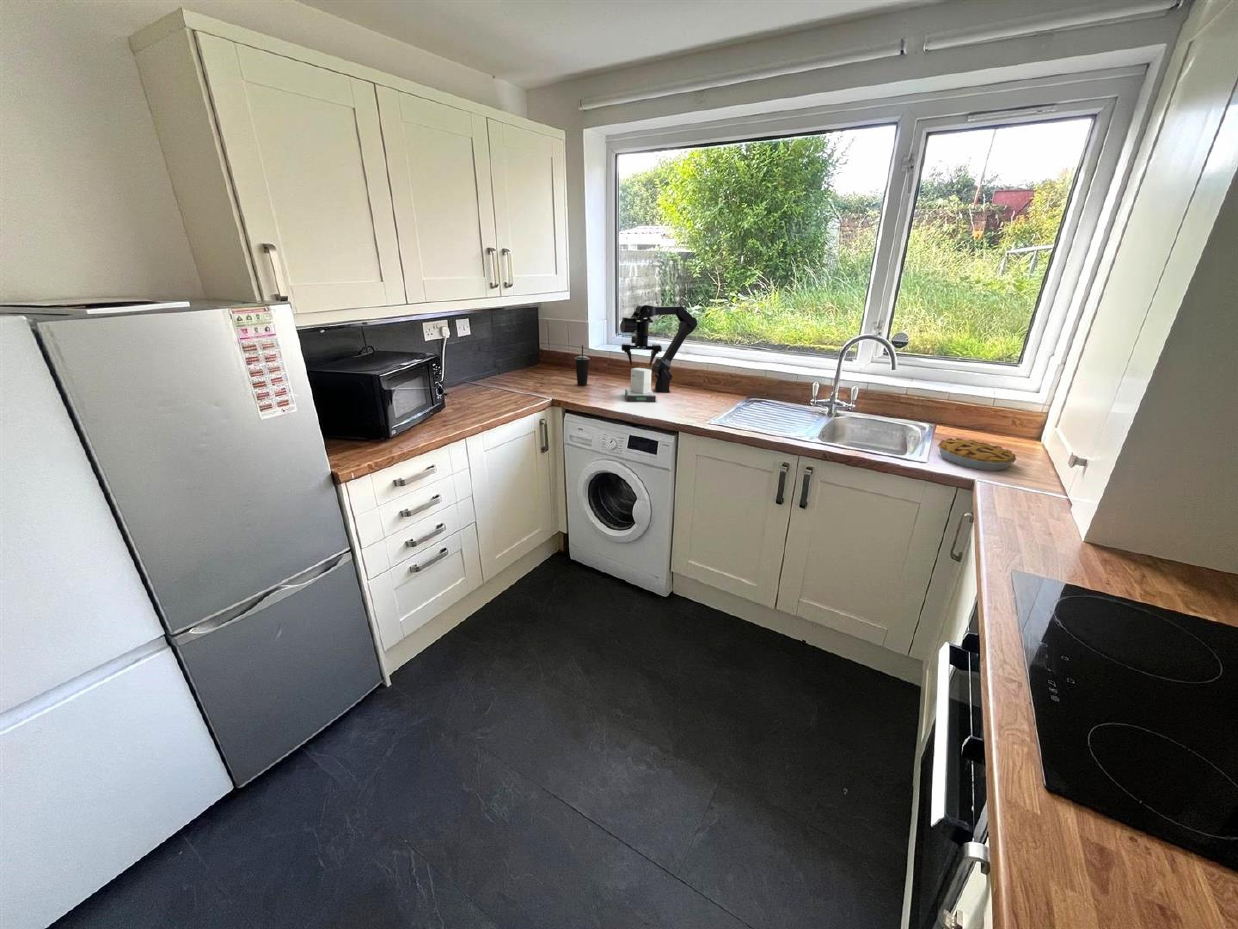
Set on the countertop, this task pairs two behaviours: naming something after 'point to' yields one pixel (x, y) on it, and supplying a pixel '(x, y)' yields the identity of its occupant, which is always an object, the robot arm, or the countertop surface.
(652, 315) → the robot arm
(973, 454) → the pie
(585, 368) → the drinking cup
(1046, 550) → the countertop surface
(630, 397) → the kitchen scale
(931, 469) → the countertop surface
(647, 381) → the small box
